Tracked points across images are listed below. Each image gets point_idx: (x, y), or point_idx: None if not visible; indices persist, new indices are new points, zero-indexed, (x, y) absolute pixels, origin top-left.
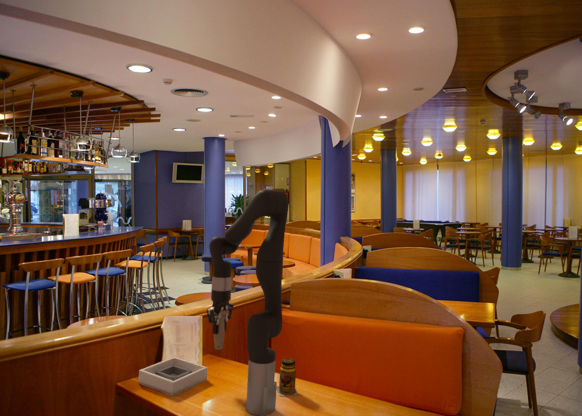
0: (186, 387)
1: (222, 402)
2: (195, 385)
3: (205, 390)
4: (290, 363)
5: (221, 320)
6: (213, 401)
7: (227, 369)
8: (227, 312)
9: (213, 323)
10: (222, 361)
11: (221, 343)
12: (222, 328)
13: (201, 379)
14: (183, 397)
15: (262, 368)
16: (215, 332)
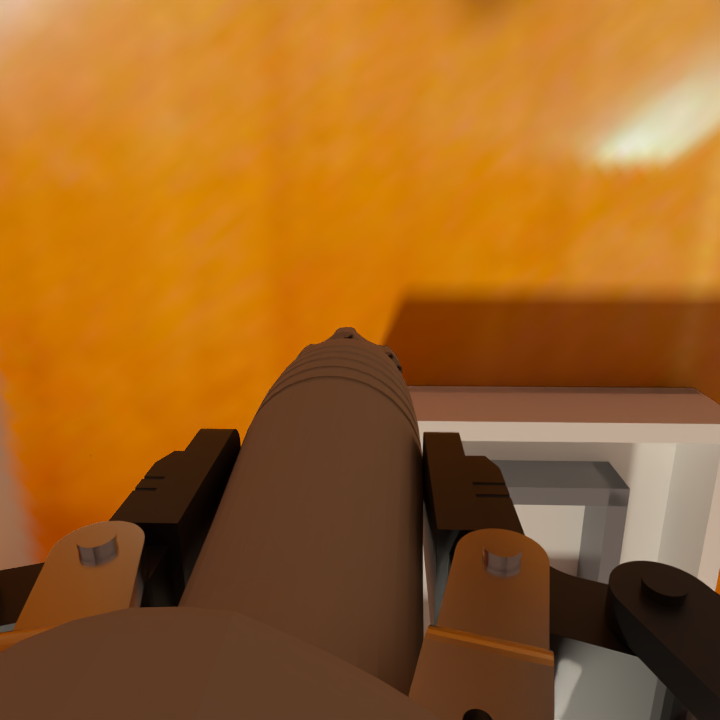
0: (573, 392)
1: (592, 48)
2: (479, 386)
3: (501, 282)
4: None
5: (354, 574)
6: (613, 116)
7: (134, 389)
8: (118, 663)
9: (698, 587)
10: (59, 501)
11: (363, 345)
12: (344, 435)
13: (423, 393)
14: (668, 326)
15: None
16: (492, 464)
